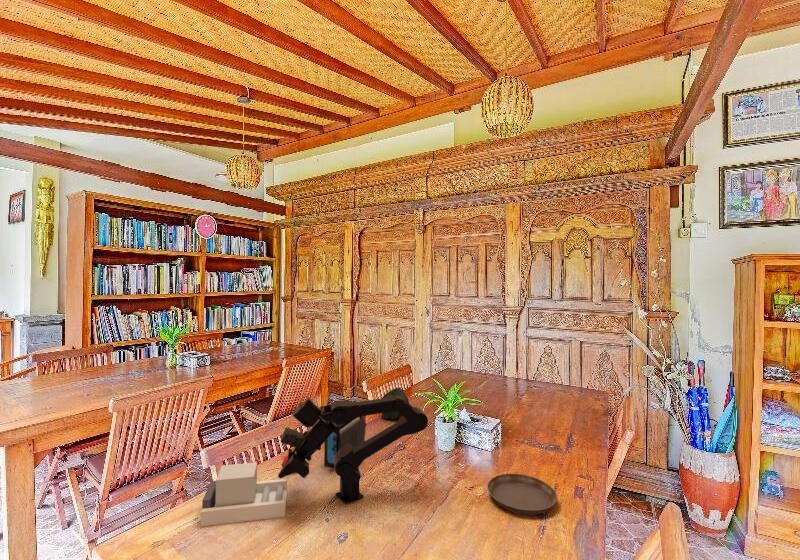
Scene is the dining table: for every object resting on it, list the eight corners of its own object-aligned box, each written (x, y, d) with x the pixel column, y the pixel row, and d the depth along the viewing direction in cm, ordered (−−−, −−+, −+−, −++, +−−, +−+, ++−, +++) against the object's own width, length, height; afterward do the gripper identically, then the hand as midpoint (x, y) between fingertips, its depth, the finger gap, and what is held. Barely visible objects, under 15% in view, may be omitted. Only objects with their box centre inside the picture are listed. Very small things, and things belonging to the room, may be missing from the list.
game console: (333, 474, 140) (334, 432, 140) (318, 471, 143) (318, 429, 143) (368, 443, 166) (369, 408, 166) (354, 441, 169) (355, 406, 169)
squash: (369, 408, 195) (390, 386, 192) (380, 400, 209) (400, 380, 206) (389, 431, 191) (411, 409, 188) (399, 421, 205) (419, 401, 202)
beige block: (256, 488, 124) (257, 462, 124) (253, 504, 115) (253, 476, 115) (221, 492, 122) (221, 465, 121) (215, 508, 113) (215, 480, 113)
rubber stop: (218, 496, 123) (218, 480, 122) (209, 517, 112) (210, 499, 112) (210, 497, 122) (211, 481, 122) (202, 518, 112) (202, 500, 112)
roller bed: (286, 491, 129) (287, 478, 129) (284, 516, 115) (285, 502, 115) (211, 498, 124) (212, 485, 124) (200, 526, 110) (200, 511, 110)
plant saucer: (551, 528, 112) (552, 516, 112) (479, 507, 122) (479, 496, 122) (560, 493, 131) (560, 483, 131) (496, 477, 140) (496, 468, 140)
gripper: (297, 409, 131) (262, 447, 129) (296, 431, 113) (255, 475, 111) (322, 431, 133) (287, 468, 131) (325, 456, 115) (285, 500, 113)
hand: (279, 476), depth 121 cm, fingers closed
